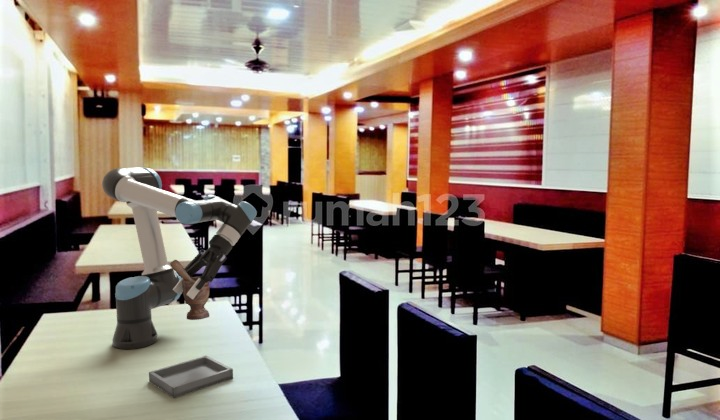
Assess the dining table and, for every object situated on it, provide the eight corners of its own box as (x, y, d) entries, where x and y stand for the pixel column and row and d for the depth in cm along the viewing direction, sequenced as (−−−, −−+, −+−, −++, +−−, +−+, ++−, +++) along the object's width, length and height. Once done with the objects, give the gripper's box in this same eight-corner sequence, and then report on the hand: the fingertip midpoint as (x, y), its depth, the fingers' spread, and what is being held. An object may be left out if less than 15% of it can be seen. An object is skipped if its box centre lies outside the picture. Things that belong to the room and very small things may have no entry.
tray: (149, 381, 160) (148, 372, 159) (206, 364, 173) (206, 355, 173) (173, 398, 149) (173, 387, 148) (233, 378, 162) (232, 368, 162)
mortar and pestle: (178, 324, 170) (175, 262, 168) (171, 318, 177) (168, 259, 175) (214, 318, 176) (211, 258, 174) (206, 312, 183) (203, 255, 182)
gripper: (248, 250, 178) (206, 306, 168) (215, 243, 193) (175, 295, 183) (234, 236, 174) (190, 293, 164) (201, 230, 188) (159, 282, 179)
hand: (182, 294), depth 173 cm, fingers closed on mortar and pestle, 9 cm apart
